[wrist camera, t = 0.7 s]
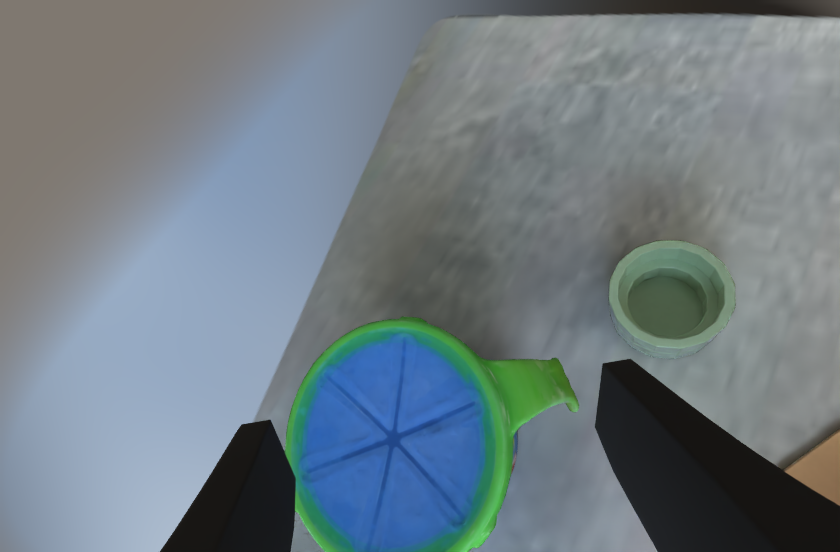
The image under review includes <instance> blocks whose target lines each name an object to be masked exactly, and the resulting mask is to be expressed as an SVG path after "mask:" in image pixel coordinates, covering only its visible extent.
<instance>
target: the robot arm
mask: <svg viewBox="0 0 840 552" xmlns="http://www.w3.org/2000/svg"><path fill="white" fill-rule="evenodd" d="M595 428H596V430H597V433H598V435H599V438H600V440H601V443H602V445H603V448H604V450H605V453H606V455H607V457H608V460H609V462H610V464H611V467H612V469H613V471H614V473H615V475H616V477H617V479H618V481H619V483H620V484H621V486H622V488H623V490H624V492H625V494H626V495H627V497H628V499H629V501H630V503H631V504H632V506H633V508H634V510H635V512H636V514H637V515H638V517H639V519H640V521H641V522H642V524H643V526H644V528H645V530H646V531H647V533H648V535H649V537H650V539H651V540H652V542H653V544H654V546H655V548H656V549H657V551H658V552H840V506H839V505H838V504H836V503H834V502H833V501H831V500H829V499H828V498H826V497H824V496H823V495H821V494H819V493H817V492H816V491H814V490H813V489H811V488H809V487H808V486H806V485H805V484H803V483H801V482H800V481H798V480H797V479H795V478H794V477H792V476H790V475H789V474H787V473H786V472H784V471H783V470H781V469H780V468H778V467H777V466H775V465H774V464H772V463H771V462H769V461H768V460H766V459H765V458H763V457H762V456H760V455H759V454H757V453H756V452H754V451H753V450H752V449H750V448H749V447H747V446H746V445H744V444H743V443H741V442H740V441H739V440H737V439H736V438H734V437H733V436H732V435H730V434H729V433H728V432H726V431H725V430H723V429H722V428H721V427H719V426H718V425H717V424H715V423H714V422H712V421H711V420H710V419H708V418H707V417H706V416H704V415H703V414H702V413H700V412H699V411H698V410H696V409H695V408H694V407H692V406H691V405H690V404H688V403H687V402H686V401H684V400H683V399H682V398H681V397H679V396H678V395H677V394H675V393H674V392H673V391H671V390H670V389H669V388H668V387H666V386H665V385H664V384H662V383H661V382H660V381H658V380H657V379H656V378H655V377H653V376H652V375H651V374H649V373H648V372H647V371H646V370H644V369H643V368H642V367H640V366H639V365H638V364H636V363H635V362H634V361H633V360H631V359H627V360H621V361H615V362H609V363H603V366H602V374H601V382H600V390H599V398H598V406H597V415H596V423H595ZM295 492H296V477H295V475H294V473H293V471H292V468H291V466H290V464H289V461H288V459H287V457H286V454H285V452H284V450H283V448H282V445H281V443H280V441H279V438H278V436H277V434H276V431H275V429H274V427H273V424H272V422H271V420H266V421H260V422H254V423H248V424H242V425H241V426H240V428H239V429H238V430H237V432H236V434H235V435H234V437H233V439H232V440H231V442H230V443H229V445H228V447H227V449H226V450H225V452H224V453H223V455H222V457H221V459H220V460H219V462H218V463H217V465H216V467H215V468H214V470H213V472H212V473H211V475H210V476H209V478H208V479H207V481H206V483H205V484H204V486H203V487H202V489H201V491H200V492H199V494H198V495H197V497H196V498H195V500H194V501H193V503H192V504H191V506H190V508H189V509H188V511H187V512H186V514H185V515H184V517H183V518H182V520H181V522H180V523H179V524H178V526H177V528H176V529H175V531H174V532H173V534H172V535H171V536H170V538H169V539H168V541H167V542H166V544H165V545H164V547H163V548H162V549H161V551H160V552H290V551H291V545H292V538H293V531H294V516H295Z"/></svg>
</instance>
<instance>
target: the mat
mask: <svg viewBox="0 0 840 552" xmlns="http://www.w3.org/2000/svg"><path fill="white" fill-rule="evenodd" d="M783 471H784V472H786V473H787V474H789V475H790V476H792V477H794V478H795V479H797V480H798V481H800V482H801V483H803V484H805V485H806V486H808V487H809V488H811V489H813V490H814V491H816V492H817V493H819V494H821V495H823V496H824V497H826V498H828V499H829V500H831V501H833V502H834V503H836V504H838V505H839V506H840V429H839V430H837V431H836V432H835V433H833V434H832V435H830V436H829V437H828V438H826V439H825V440H824V441H822V442H821V443H820V444H818V445H817V446H815V447H814V448H813V449H811V450H810V451H809V452H807V453H806V454H804V455H803V456H802V457H800V458H799V459H798V460H796V461H795V462H794V463H792V464H791V465H789V466H788V467H787V468H785V469H784V470H783Z"/></svg>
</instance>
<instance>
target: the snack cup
mask: <svg viewBox="0 0 840 552" xmlns="http://www.w3.org/2000/svg"><path fill="white" fill-rule="evenodd" d="M562 403H566V405H567V407H568V408H569V410H570V411H572V412H577V411H578V409H579V404H578V400H577V398H576V396H575V393H574V391H573V390H572V388H571V386H570V383H569V380H568V378H567V377H566V375H565V373H564V370H563V367H562V365H561V363H560V361H559V360H558V359H557V358H552V359H551V360H537V359H535V360H534V359H519V360H515V359H512V360H486V359H483V358H481V357H479V356H478V355H477V354H476V353H475V352H474V351H473V350H472V349H470V348H469V347H468V346H467V345H466V344H465V343H463V342H462V341H461V340H459V339H458V338H456V337H455V336H453V335H452V334H450V333H448V332H447V331H445V330H443V329H441V328H439V327H436V326H433V325H430V324H428V323H427V322H426V321H424V320H423V319H421V318H414V317H403V316H402V317H401V318H400V319H388V320H382V321H376V322H372V323H368V324H366V325H363V326H360V327H358V328H356V329H354V330H352V331H350V332H349V333H347V334H345V335H344V336H342V337H341V338H339V339H338V340H337V341H335V342H334V343H333V344H332V345H331V346H330V347H329V348H327V349H326V351H325V352H323V353H322V354H321V356H320V357H319V358H318V359H317V360H316V361H315V362H314V364H313V365H312V367H311V368H310V370H309V371H308V373H307V375H306V376H305V378H304V380H303V382H302V384H301V386H300V388H299V390H298V392H297V395H296V397H295V400H294V403H293V406H292V408H291V412H290V416H289V420H288V426H287V432H286V446H285V451H284V452H285V454H286V457H287V459H288V461H289V464H290V466H291V468H292V471H293V473H294V475H295V477H296V492H295V512H298V513H299V515H300V517H301V519H302V521H303V523H304V525H305V527H306V528H307V529H308V531H309V533H310V534H311V535H312V537H313V538H314V539H315V541H316V542H317V543H318V544H319V546H320V547H321V548H322V549H323V550H324V551H325V552H468V551H470V550H471V549H472V548H479V547H480V546H481V545H482V544H483V543H484V542H485V540H486V539H487V538H488V537H489V535H490V533H491V532H492V531H493V529H494V528H495V525H496V520H497V514H498V513H499V511H500V509H501V506H502V503H503V500H504V498H505V496H506V491H507V488H508V484H509V480H510V476H511V473H512V471H513V468H514V465H515V461H516V455H517V430H518V429H519V427H520V426H522V425H523V424H525V423H526V422H527V421H529V420H530V419H532V418H533V417H534V416H536V415H537V414H539V413H540V412H542V411H544V410H546V409H547V408H549V407H551V406H554V405H559V404H562Z"/></svg>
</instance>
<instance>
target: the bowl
mask: <svg viewBox="0 0 840 552" xmlns="http://www.w3.org/2000/svg"><path fill="white" fill-rule="evenodd" d="M735 306H736V299H735V283H734V281H733V279H732V277H731V275H730V273H729V272H728V270H727V268H726V266H725V264H724V263H723V262H722V261H720V260H719V259H718V258H717V257H716V256H714V255H713V254H712V253H711V252H709V251H708V250H707V249H705V248H703V247H700V246H697V245H694V244H691V243H688V242H685V241H681V240H658V241H654V242H651V243H648V244H645V245H642V246H639V247H637V248H635V249H634V250H633V251H631V252H630V253H629V254H628V255H626V256H625V257H624V258H623V259H622V260H620V262H619V263H618V265H617V267H616V268H615V270H614V272H613V274H612V276H611V278H610V283H609V308H610V317H611V319H612V322H613V324H614V327H615V329H616V331H617V332H618V334H619V335H620V336H621V337H622V338H623V339H624V340H625V341H626V342H627V343H628V344H629V345H630V346H631V347H632V348H633V349H636V350H638V351H640V352H642V353H644V354H646V355H648V356H652V357H657V358H667V359H674V358H680V357H684V356H687V355H691V354H694V353H697V352H698V351H700V350H701V349H702V348H703V347H705V346H706V345H707V344H709V343H710V342H711V341H712V340H713V339H714V338H715V337H716V336H717V335H718V334H719V333H720V332H721V331H722V330H723V329H724V328H725V327H726V325H727V323H728V321H729V319H730V317H731V315H732V313H733V311H734V309H735Z"/></svg>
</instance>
